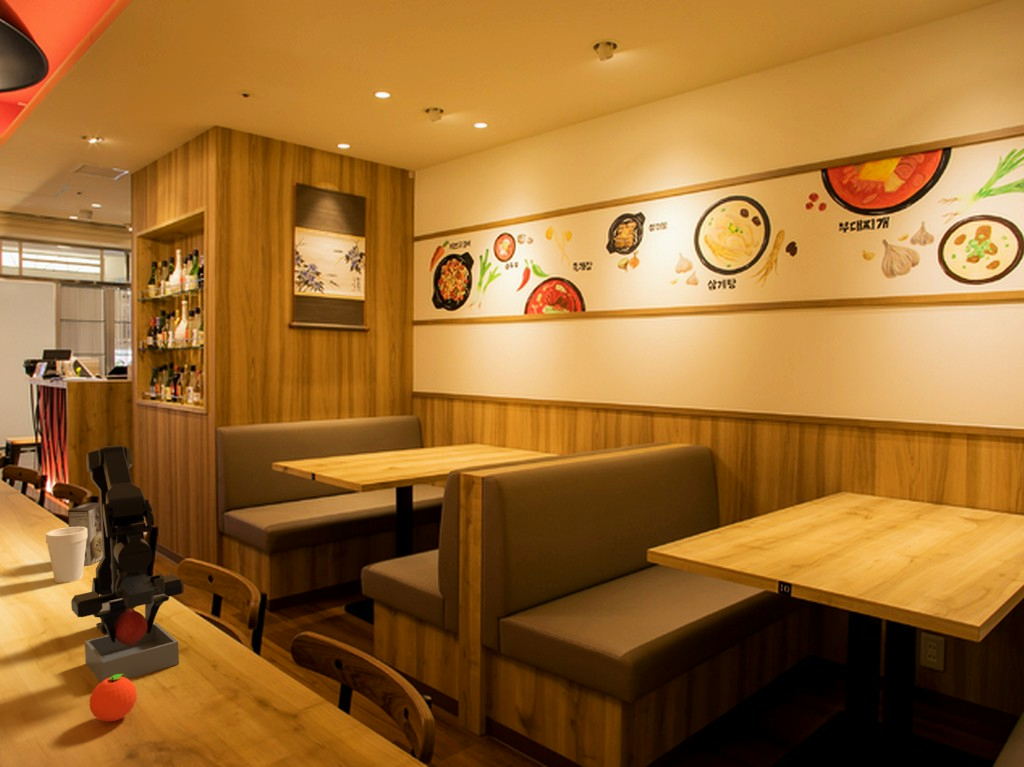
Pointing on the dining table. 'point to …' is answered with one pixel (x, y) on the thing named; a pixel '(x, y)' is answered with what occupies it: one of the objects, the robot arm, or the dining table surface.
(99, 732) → the dining table surface
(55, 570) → the foam cup
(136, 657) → the bin
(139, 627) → the onion
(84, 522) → the coffee box
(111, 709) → the clementine
